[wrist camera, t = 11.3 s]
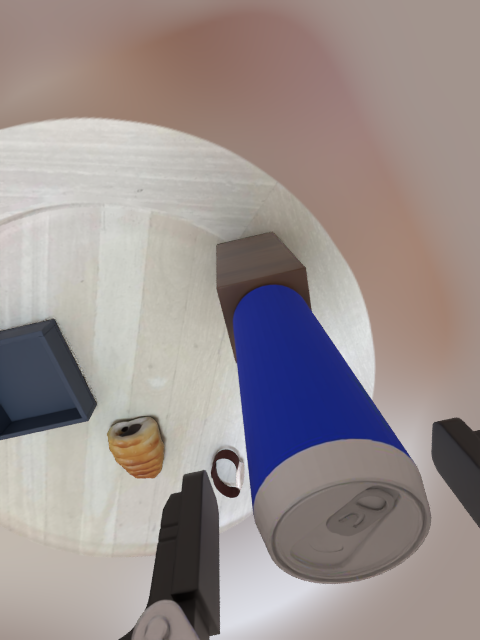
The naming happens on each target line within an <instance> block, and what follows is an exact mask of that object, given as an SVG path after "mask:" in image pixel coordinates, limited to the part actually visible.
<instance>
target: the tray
mask: <svg viewBox="0 0 480 640" xmlns="http://www.w3.org/2000/svg"><path fill="white" fill-rule="evenodd" d="M96 406H97V404H96V402H95V400H94V398H93V396H92V394H91V392H90V390H89V388H88V386H87V384H86V382H85V380H84V378H83V376H82V374H81V372H80V370H79V368H78V366H77V364H76V362H75V360H74V358H73V356H72V354H71V352H70V350H69V348H68V346H67V344H66V342H65V340H64V338H63V336H62V334H61V332H60V330H59V328H58V326H57V324H56V322H55V320H54V319H52V320H47V321H43V322H39V323H34V324H30V325H25V326H21V327H17V328H12V329H8V330H4V331H0V440H3V439H8V438H13V437H17V436H22V435H26V434H31V433H35V432H40V431H44V430H49V429H54V428H58V427H63V426H67V425H72V424H76V423H81V422H86V421H89V419H90V417H91V415H92V413H93V411H94V409H95V407H96Z"/></svg>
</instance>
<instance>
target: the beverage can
mask: <svg viewBox="0 0 480 640" xmlns="http://www.w3.org/2000/svg"><path fill="white" fill-rule="evenodd" d="M233 330H234V339H235V348H236V357H237V367H238V376H239V385H240V395H241V404H242V413H243V423H244V432H245V441H246V451H247V460H248V469H249V479H250V488H251V497H252V506H253V515H254V519H255V523H256V525H257V528H258V530H259V532H260V534H261V536H262V538H263V541H264V543H265V545H266V547H267V550H268V552H269V554H270V556H271V558H272V560H273V561H274V562H275V564H276V565H277V566H278V567H279V568H281V569H282V570H283V571H284V572H286V573H288V574H290V575H291V576H293V577H296V578H298V579H301V580H305V581H309V582H314V583H322V584H338V583H339V584H340V583H349V582H355V581H360V580H364V579H368V578H371V577H374V576H377V575H380V574H382V573H384V572H386V571H388V570H391V569H393V568H394V567H396V566H398V565H399V564H401V563H402V562H404V561H405V560H406V559H408V558H409V557H410V556H411V555H412V554H413V553H414V552H416V551H417V550H418V548H419V547H420V546H421V544H422V543H423V542H424V540H425V538H426V536H427V535H428V532H429V529H430V525H431V513H430V507H429V504H428V501H427V497H426V493H425V489H424V486H423V482H422V479H421V475H420V473H419V470H418V468H417V466H416V464H415V463H414V461H413V460H412V459H411V457H410V456H409V454H408V453H407V451H406V450H405V448H404V447H403V445H402V444H401V442H400V441H399V440H398V438H397V436H396V435H395V433H394V432H393V431H392V429H391V428H390V426H389V425H388V423H387V422H386V420H385V419H384V417H383V416H382V415H381V413H380V411H379V410H378V409H377V407H376V405H375V404H374V402H373V401H372V400H371V398H370V397H369V395H368V394H367V392H366V391H365V389H364V388H363V386H362V385H361V383H360V382H359V380H358V379H357V377H356V376H355V374H354V373H353V372H352V370H351V369H350V367H349V366H348V364H347V363H346V361H345V360H344V358H343V357H342V355H341V354H340V352H339V351H338V349H337V348H336V346H335V345H334V344H333V342H332V341H331V339H330V338H329V336H328V335H327V333H326V332H325V330H324V329H323V327H322V326H321V324H320V323H319V321H318V320H317V318H316V317H315V316H314V314H313V313H312V311H311V310H310V308H309V307H308V305H307V304H306V302H305V301H304V299H303V298H302V297H301V296H300V295H299V294H298V293H297V292H296V291H294V290H293V289H290V288H288V287H285V286H282V285H266V286H262V287H259V288H256V289H254V290H252V291H251V292H249V293H248V294H247V295H245V296H244V297H243V298H242V300H241V301H240V302H239V304H238V305H237V307H236V309H235V312H234V316H233Z"/></svg>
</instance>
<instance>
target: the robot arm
mask: <svg viewBox="0 0 480 640" xmlns="http://www.w3.org/2000/svg"><path fill="white" fill-rule="evenodd" d="M432 459H433V462H434V465H435V466H436V469H437V471H438V472H439V474H440V475H441V476H442V478H443V479H444V480H445V482H446V483H447V485H448V486H449V487H450V489H451V490H452V491H453V493H454V494H455V495H456V497H457V498H458V499H459V501H460V502H461V503H462V505H463V506H464V508H465V509H466V510H467V512H468V513H469V514H470V516H471V517H472V518H473V520H474V521H475V522H476V523H477V525H478V527H479V528H480V430H478V431H472V430H471V429H470V428H469V427H468V426H467V425H466V424H465V422H463V421H462V420H461V419H460V418H452V419H447V420H442V421H438V422H434V423H433V430H432ZM158 540H159V543H158V545H157V551H156V558H155V565H154V571H153V577H152V583H151V590H150V596H149V600H148V604H147V607H146V609H145V611H144V612H143V614H142V615H141V616H140V618H139V619H138V621H137V623H136V625H135V626H134V628H133V629H132V630H131V631H130V632H128V633H127V634H126V635H125V636H123V637H122V638H120V639H119V640H209V636H212V635H217V634H220V601H219V600H220V595H219V591H220V589H219V512H218V505H217V500H216V497H215V494H214V491H213V488H212V486H211V483H210V480H209V477H208V475H207V472H206V471H205V470H202V471H198V472H193V473H188V474H184V476H183V482H182V491H181V492H179V493H174V494H171V495H170V497H169V499H168V501H167V503H166V505H165V507H164V509H163V513H162V519H161V529H160V532H159V538H158Z"/></svg>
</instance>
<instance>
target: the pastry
mask: <svg viewBox="0 0 480 640" xmlns="http://www.w3.org/2000/svg"><path fill="white" fill-rule="evenodd" d="M107 436H108V442H109V449H110V451H111V452H112V454H113V455H114V458H115V460H116V462H117V463H119V464H120V465H122V467H123V468H124V469H126V471H127V472H128V473H130V475H133V476H134V477H135V478H155V477H156V476H157V475H158V474H159V473H160V472H161V470H162V463H163V460H164V453H163V450H164V444H163V442H162V441H161V436H160V431H159V428H158V424H157V422H156V421H155V420H154V419H153V418H151V417H143V418H138V419H135V420H132V421H130V422H120V423H116V424H115V425H113V426H112V427H111V428H110V429H109V431H108V433H107Z"/></svg>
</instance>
